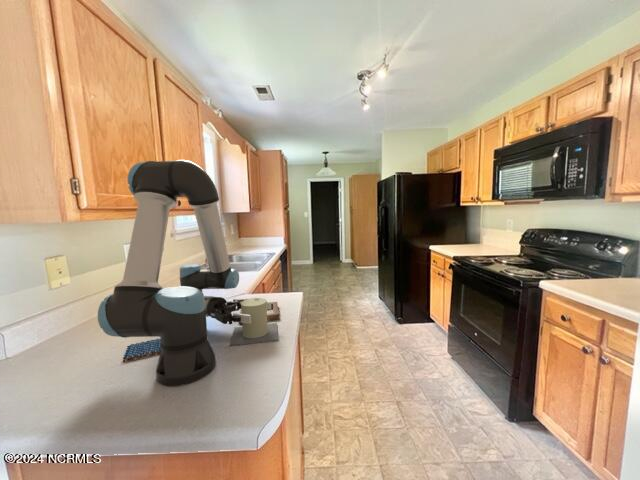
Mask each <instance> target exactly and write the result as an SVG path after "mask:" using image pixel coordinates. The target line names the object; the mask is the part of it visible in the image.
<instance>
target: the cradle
mask: <svg viewBox="0 0 640 480" xmlns="http://www.w3.org/2000/svg"><path fill="white" fill-rule="evenodd" d="M270 302H271V309H272V310H273V312H269V313H268V312H267V322H268V321H274V320H280V315H279V305H278V304H279V303H278V301H270ZM239 314H242V312H241V310H239ZM238 324H242V323H241V322H238Z"/></svg>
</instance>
